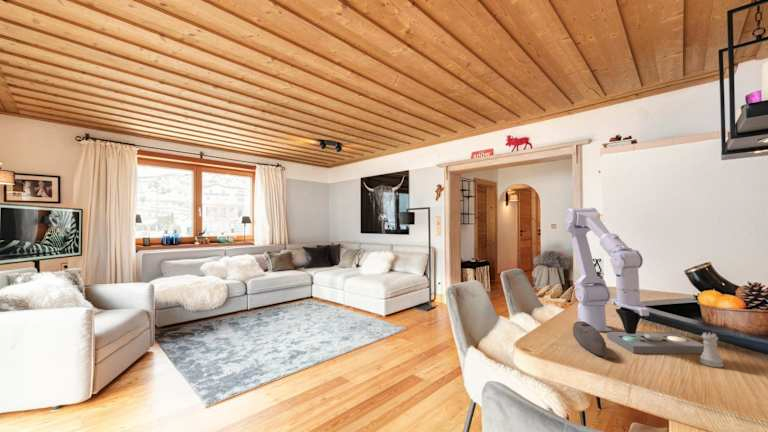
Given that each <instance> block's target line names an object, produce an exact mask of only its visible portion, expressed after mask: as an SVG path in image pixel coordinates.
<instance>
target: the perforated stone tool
mask: <svg viewBox="0 0 768 432" xmlns="http://www.w3.org/2000/svg"><path fill="white" fill-rule="evenodd" d="M572 334H573V337H574V339H575V340H576V341H577V342H578V344H579V345H580V346H581V347H583V348H584V349H586V350H587V351H589V352H591V353H592V354H594V355H597V356H599V357H603V356H605V355H606V353H607V343H606V341H605V339H604V337H603V335H602V334H601V333H600V331H597V330H596V329H595V328H594V327H593V326H591V325H589V324H588V323H586V322H583V321H578V320H577V321H575V322H574V323H573V327H572Z"/></svg>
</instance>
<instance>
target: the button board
mask: <svg viewBox="0 0 768 432" xmlns="http://www.w3.org/2000/svg"><path fill="white" fill-rule="evenodd" d="M645 333H654V334H659V335H662V336H663V341H662V342H655V341H650V340H647V339H645V336H644V334H645ZM623 336H631V337H636V338H639V339H640V342H627V341H626V340H624V339H622V337H623ZM668 336H677V337H682V338H685V339H686V340H687V342H674V341H672V340H670V339H667V337H668ZM606 338H607V339H608V340H609V341H612V342H613V343H614V344H617V346H619V347H622V348H624V349H625V350H626V351H629V352H630V353H632V354H702V353H703V351H704V343H701V342H699V341H696V340H693V339H691V338H689V337H686V336H684V335H682V334H679V333H676V332H673V331H636V333H635V334H628V333H626V332H625V331H606Z"/></svg>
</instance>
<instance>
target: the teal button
mask: <svg viewBox="0 0 768 432" xmlns="http://www.w3.org/2000/svg"><path fill="white" fill-rule="evenodd" d="M622 339H624V340H626V341H627V342H640V339H639V338H636V337H631V336H623V337H622Z"/></svg>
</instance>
